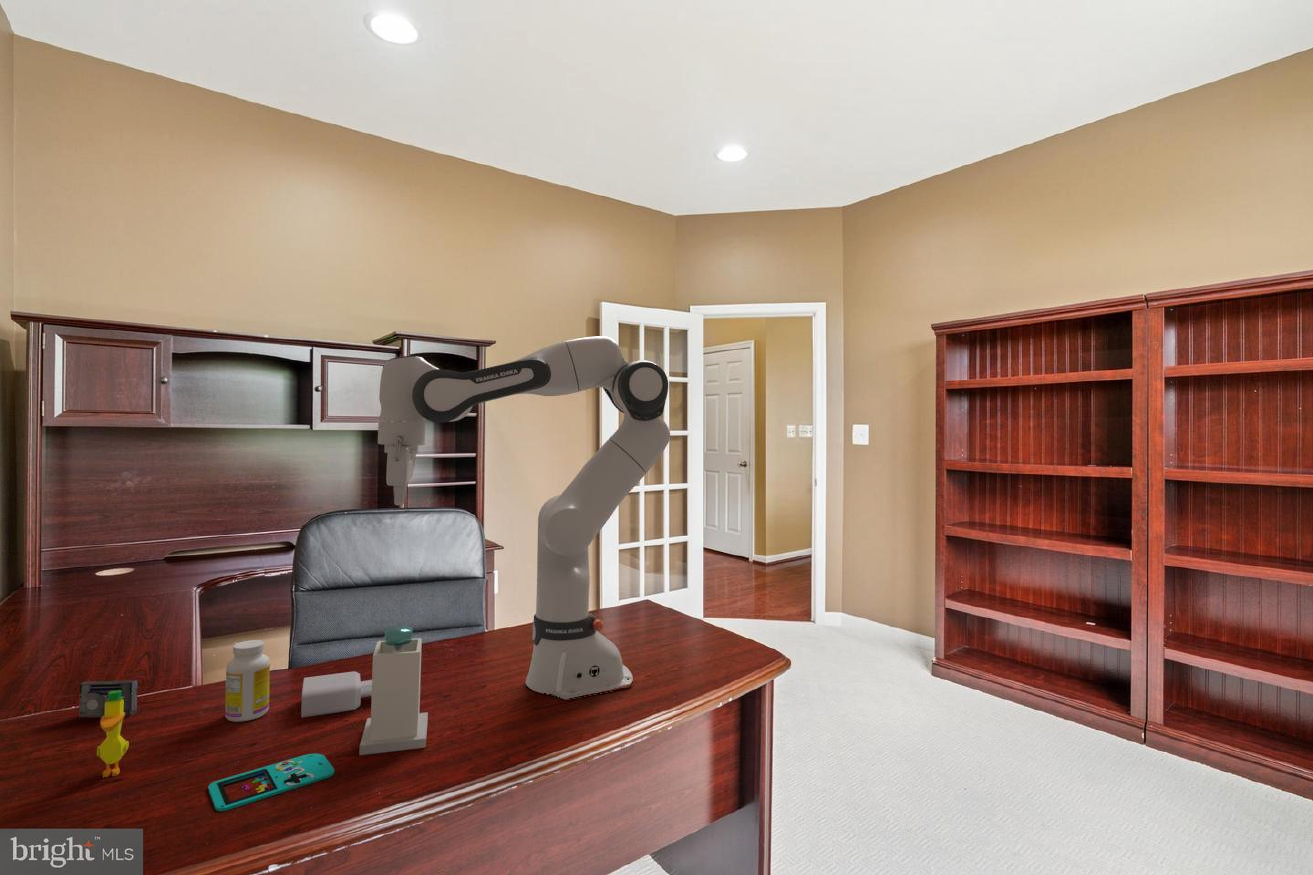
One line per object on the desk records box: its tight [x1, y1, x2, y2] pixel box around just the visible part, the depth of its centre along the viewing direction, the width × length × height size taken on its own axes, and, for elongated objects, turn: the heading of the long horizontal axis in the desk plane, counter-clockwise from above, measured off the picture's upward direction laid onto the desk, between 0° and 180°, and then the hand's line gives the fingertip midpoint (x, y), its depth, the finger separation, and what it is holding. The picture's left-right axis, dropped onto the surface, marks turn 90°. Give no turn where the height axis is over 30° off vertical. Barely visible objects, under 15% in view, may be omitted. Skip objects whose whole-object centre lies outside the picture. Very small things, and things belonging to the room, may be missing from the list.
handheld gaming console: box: [207, 753, 335, 812], centre depth 93 cm, size 8×1×15 cm
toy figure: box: [96, 690, 130, 779], centre depth 93 cm, size 7×4×12 cm, turn 32°
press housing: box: [358, 637, 429, 756], centre depth 107 cm, size 10×10×16 cm
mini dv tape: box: [78, 679, 138, 718], centre depth 112 cm, size 8×2×6 cm, turn 99°
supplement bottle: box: [224, 639, 271, 723], centre depth 113 cm, size 7×7×13 cm
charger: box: [300, 670, 372, 719], centre depth 120 cm, size 5×9×15 cm
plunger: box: [384, 625, 414, 653], centre depth 107 cm, size 5×5×12 cm
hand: (399, 504), depth 127 cm, fingers closed
